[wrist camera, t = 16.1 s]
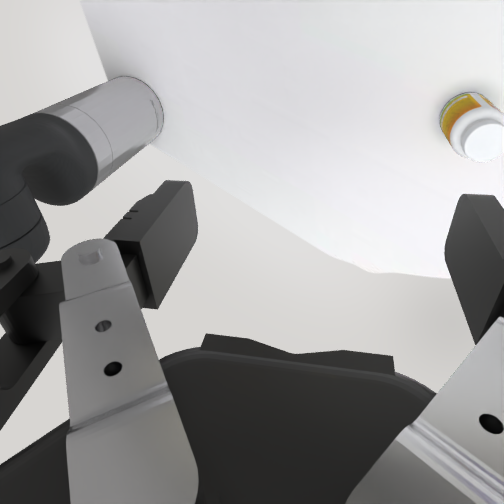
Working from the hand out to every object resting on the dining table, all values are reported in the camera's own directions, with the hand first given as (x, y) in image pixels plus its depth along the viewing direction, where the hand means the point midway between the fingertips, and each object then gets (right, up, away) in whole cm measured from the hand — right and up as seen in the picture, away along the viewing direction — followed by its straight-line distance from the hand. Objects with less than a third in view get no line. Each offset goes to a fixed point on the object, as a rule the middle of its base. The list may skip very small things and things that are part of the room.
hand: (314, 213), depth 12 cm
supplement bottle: (+23, +15, +33) cm, 43 cm away
